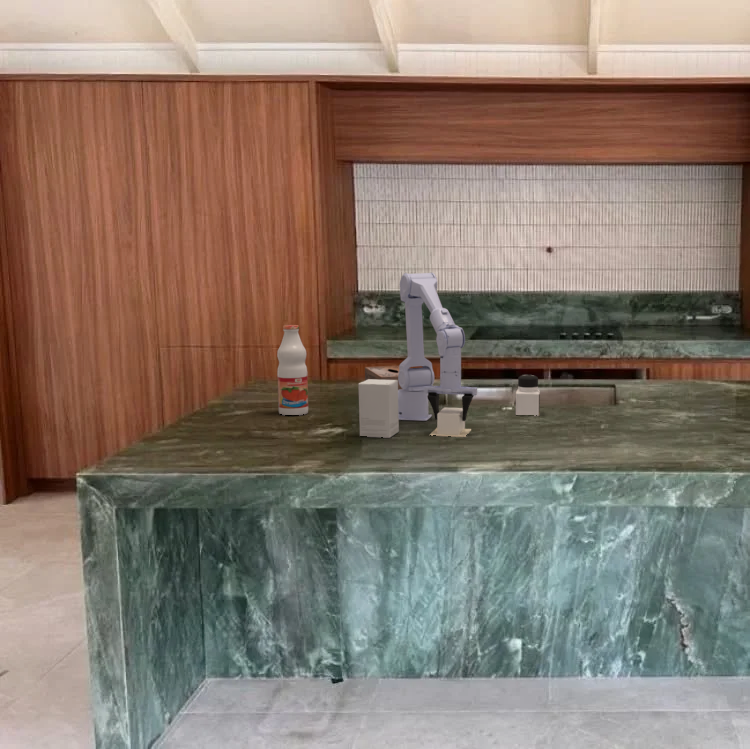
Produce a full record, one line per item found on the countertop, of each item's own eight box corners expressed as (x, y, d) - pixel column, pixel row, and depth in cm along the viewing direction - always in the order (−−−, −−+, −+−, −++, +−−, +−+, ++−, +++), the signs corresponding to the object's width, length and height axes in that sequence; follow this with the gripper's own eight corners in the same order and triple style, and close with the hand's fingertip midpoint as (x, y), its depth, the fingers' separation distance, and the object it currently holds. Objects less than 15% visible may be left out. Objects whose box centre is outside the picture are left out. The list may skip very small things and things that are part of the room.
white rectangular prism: (458, 436, 233) (458, 414, 232) (437, 435, 235) (437, 413, 234) (464, 428, 242) (464, 408, 241) (444, 428, 244) (444, 407, 243)
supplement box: (399, 432, 240) (399, 379, 238) (389, 438, 231) (389, 384, 229) (369, 430, 243) (368, 378, 241) (358, 436, 234) (357, 383, 232)
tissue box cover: (365, 394, 305) (364, 367, 304) (404, 392, 308) (403, 365, 307) (381, 407, 280) (381, 377, 279) (423, 404, 283) (423, 375, 282)
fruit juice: (303, 409, 276) (300, 323, 272) (312, 414, 267) (310, 325, 263) (275, 412, 272) (272, 325, 268) (283, 417, 263) (280, 327, 259)
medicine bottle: (539, 416, 259) (539, 377, 257) (515, 415, 260) (515, 377, 259) (539, 412, 266) (540, 374, 264) (516, 411, 267) (516, 373, 266)
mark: (429, 435, 234) (429, 434, 234) (436, 428, 244) (436, 427, 244) (465, 437, 231) (465, 436, 231) (471, 429, 241) (471, 429, 241)
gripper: (421, 372, 233) (421, 421, 235) (474, 374, 229) (474, 423, 231) (427, 369, 240) (427, 416, 242) (478, 370, 236) (478, 418, 238)
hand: (450, 419), depth 237 cm, fingers open, 7 cm apart
